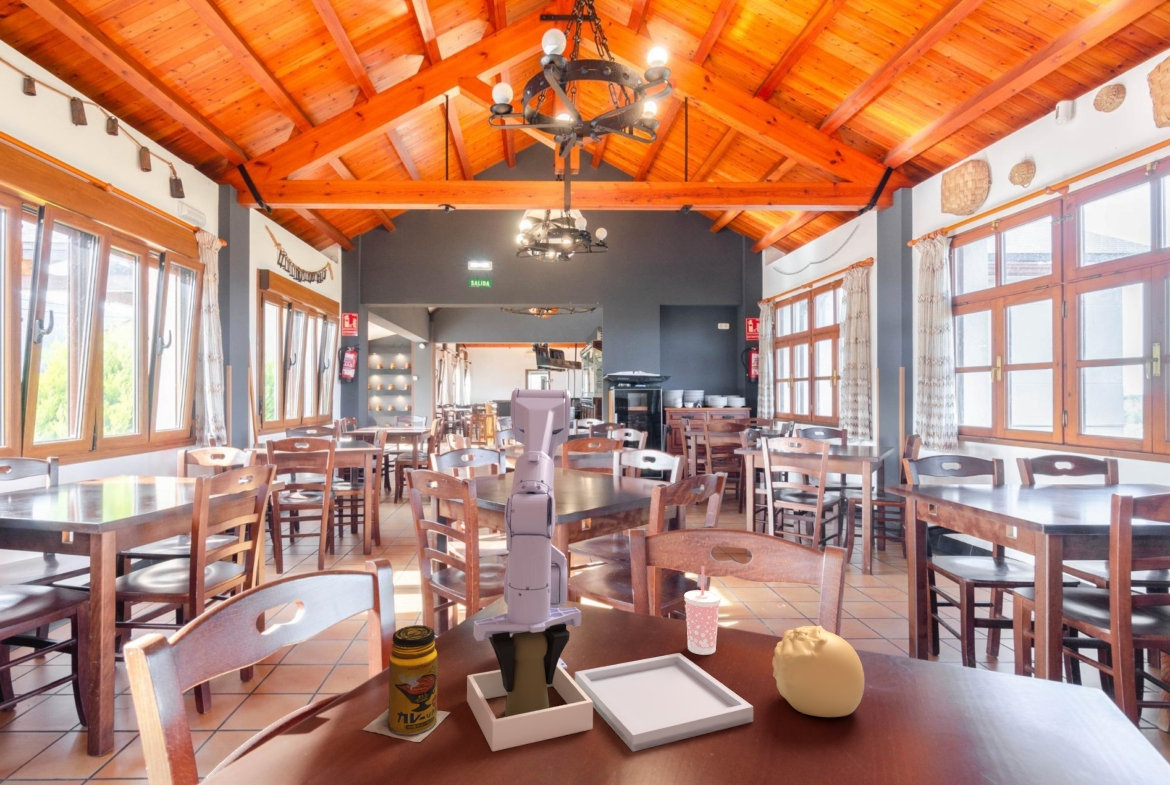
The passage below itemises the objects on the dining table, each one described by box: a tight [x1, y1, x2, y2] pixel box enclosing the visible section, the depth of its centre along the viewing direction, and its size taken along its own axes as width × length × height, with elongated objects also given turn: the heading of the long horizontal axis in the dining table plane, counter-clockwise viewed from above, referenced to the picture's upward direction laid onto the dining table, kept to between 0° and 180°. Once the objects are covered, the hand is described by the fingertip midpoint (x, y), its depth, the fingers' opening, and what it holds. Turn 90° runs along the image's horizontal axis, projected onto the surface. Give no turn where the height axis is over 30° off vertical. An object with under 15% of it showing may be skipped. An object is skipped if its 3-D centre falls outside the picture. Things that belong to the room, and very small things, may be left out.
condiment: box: [362, 624, 451, 743], centre depth 81 cm, size 7×8×12 cm
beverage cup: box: [683, 565, 722, 656], centre depth 105 cm, size 6×6×14 cm
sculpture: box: [771, 625, 865, 718], centre depth 87 cm, size 12×12×11 cm
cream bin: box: [466, 663, 594, 753], centre depth 83 cm, size 13×13×4 cm
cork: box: [504, 631, 550, 717], centre depth 83 cm, size 6×6×11 cm
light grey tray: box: [574, 652, 754, 752], centre depth 87 cm, size 18×18×2 cm
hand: (527, 684), depth 83 cm, fingers closed on cork, 5 cm apart
